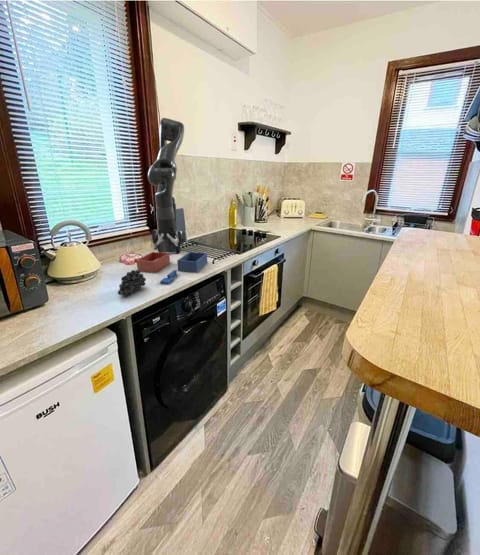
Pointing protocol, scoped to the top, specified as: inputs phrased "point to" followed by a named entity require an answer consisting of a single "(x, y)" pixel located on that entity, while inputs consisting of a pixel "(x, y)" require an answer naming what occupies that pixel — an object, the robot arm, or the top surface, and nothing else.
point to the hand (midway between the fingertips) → (169, 253)
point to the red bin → (153, 262)
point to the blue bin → (192, 262)
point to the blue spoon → (169, 277)
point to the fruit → (131, 282)
